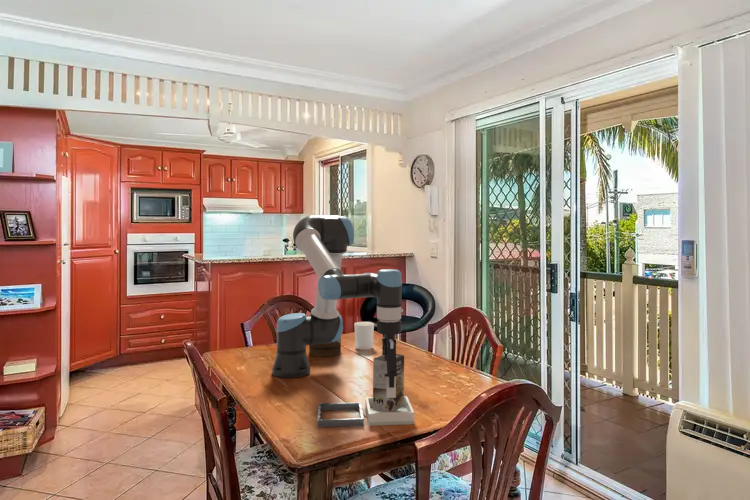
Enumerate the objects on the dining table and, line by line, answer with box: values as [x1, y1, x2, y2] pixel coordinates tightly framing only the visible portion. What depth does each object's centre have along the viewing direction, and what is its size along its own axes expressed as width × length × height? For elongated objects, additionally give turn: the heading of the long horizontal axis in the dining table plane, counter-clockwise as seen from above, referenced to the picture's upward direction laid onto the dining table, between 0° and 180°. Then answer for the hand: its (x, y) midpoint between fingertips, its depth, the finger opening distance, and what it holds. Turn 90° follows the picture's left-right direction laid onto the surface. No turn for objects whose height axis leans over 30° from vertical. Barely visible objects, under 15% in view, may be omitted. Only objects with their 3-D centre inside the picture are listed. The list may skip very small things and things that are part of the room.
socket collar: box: [316, 401, 365, 428], centre depth 141 cm, size 14×14×2 cm
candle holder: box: [353, 321, 375, 351], centre depth 227 cm, size 10×10×12 cm
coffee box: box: [372, 353, 405, 412], centre depth 142 cm, size 9×6×16 cm
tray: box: [364, 395, 415, 427], centre depth 143 cm, size 14×14×4 cm
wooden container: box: [308, 313, 342, 358], centre depth 217 cm, size 15×15×22 cm
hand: (388, 390), depth 143 cm, fingers closed on coffee box, 10 cm apart
